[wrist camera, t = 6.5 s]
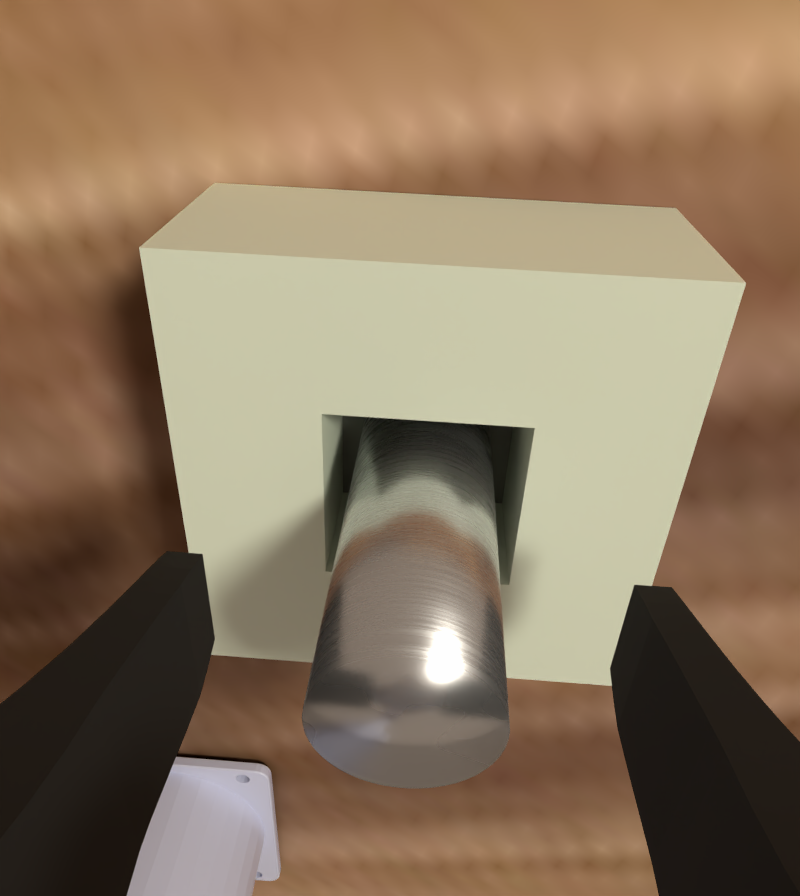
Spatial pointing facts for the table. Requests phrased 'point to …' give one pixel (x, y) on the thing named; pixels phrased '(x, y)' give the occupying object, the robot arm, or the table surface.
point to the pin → (413, 613)
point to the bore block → (434, 392)
